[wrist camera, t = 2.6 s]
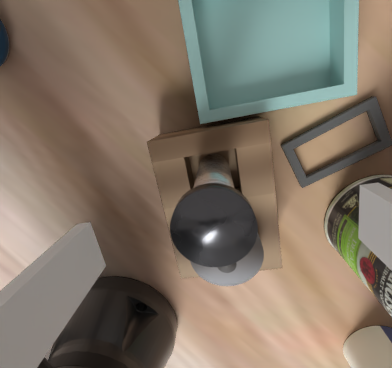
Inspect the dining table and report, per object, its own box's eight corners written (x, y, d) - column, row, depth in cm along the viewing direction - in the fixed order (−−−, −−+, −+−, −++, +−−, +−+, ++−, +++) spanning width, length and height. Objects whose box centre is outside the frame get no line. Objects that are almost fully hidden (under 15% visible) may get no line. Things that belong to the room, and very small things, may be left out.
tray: (201, 121, 24) (200, 124, 21) (179, -8, 21) (173, -26, 18) (338, 95, 22) (356, 94, 19) (338, -50, 19) (360, -76, 16)
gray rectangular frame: (300, 185, 25) (302, 187, 25) (280, 145, 24) (282, 146, 24) (388, 143, 23) (393, 144, 23) (371, 96, 22) (375, 96, 22)
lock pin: (196, 192, 24) (179, 271, 13) (187, 150, 23) (161, 196, 12) (239, 186, 24) (262, 262, 12) (233, 142, 22) (252, 183, 11)
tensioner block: (270, 240, 28) (292, 293, 20) (186, 250, 29) (176, 303, 21) (257, 116, 23) (279, 122, 16) (159, 134, 25) (134, 148, 17)
